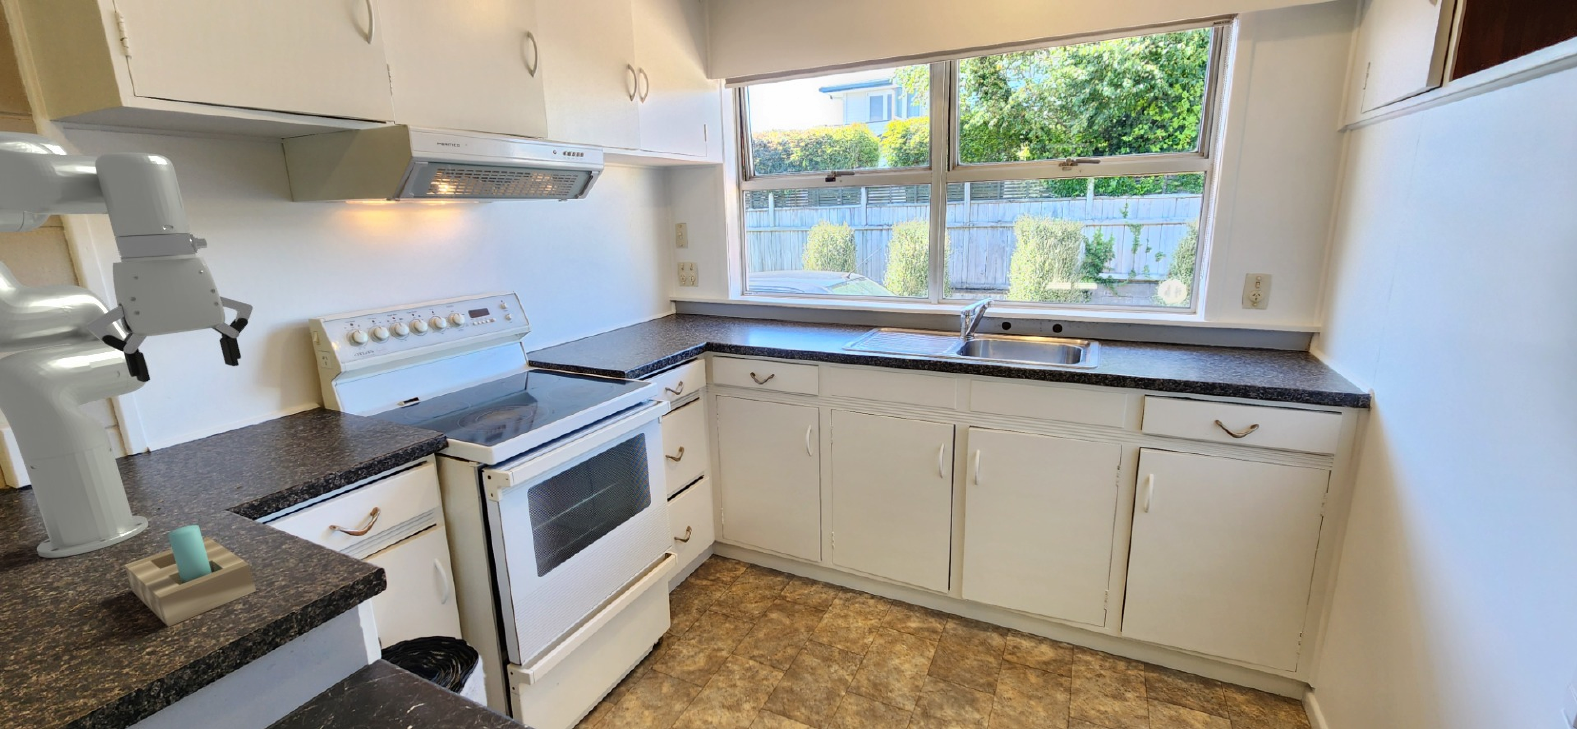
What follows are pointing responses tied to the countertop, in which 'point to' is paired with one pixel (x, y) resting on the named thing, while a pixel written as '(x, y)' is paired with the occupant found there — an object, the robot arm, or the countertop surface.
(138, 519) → the robot arm
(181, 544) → the peg
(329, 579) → the countertop surface
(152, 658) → the countertop surface
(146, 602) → the hole block
